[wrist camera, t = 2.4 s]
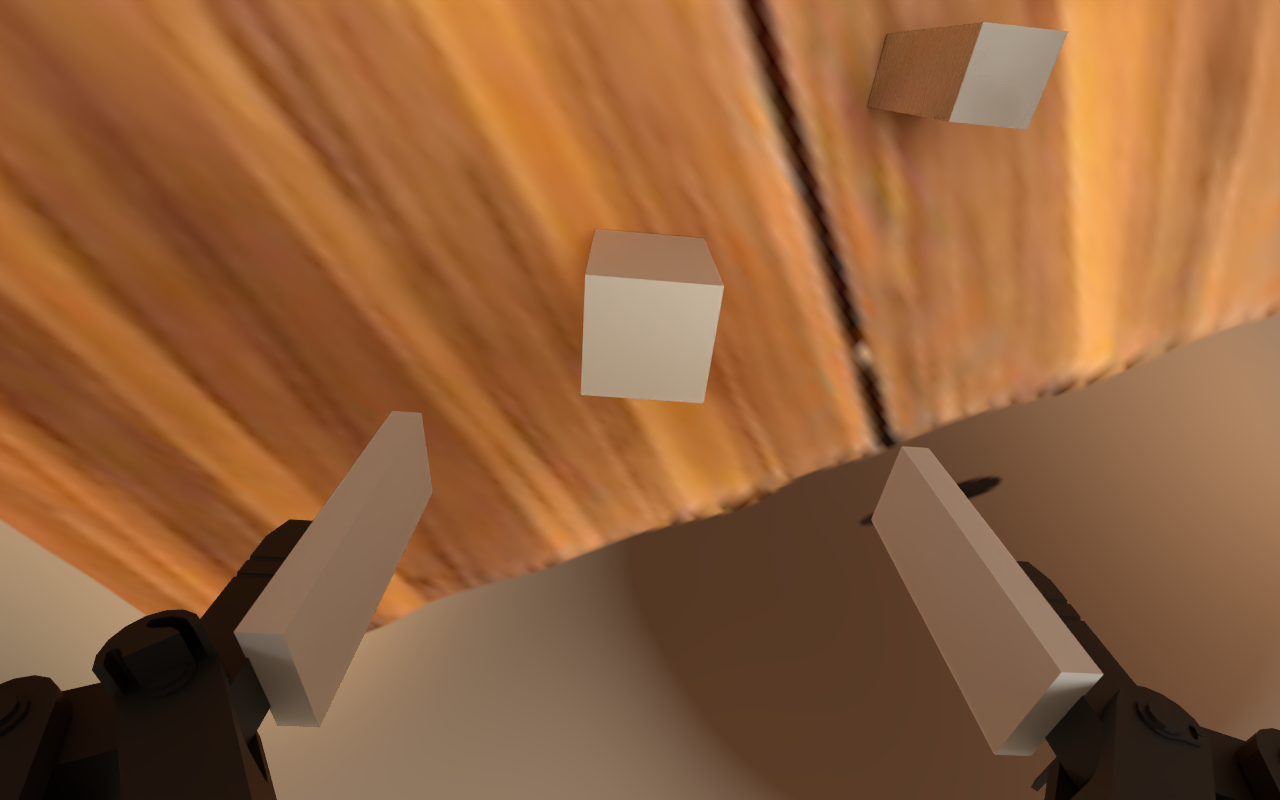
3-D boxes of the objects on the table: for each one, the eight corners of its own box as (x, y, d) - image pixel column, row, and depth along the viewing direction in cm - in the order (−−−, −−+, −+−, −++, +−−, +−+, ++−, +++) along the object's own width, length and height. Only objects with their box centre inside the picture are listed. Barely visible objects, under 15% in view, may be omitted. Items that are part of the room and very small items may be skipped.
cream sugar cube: (590, 329, 28) (580, 394, 23) (595, 228, 26) (585, 274, 20) (689, 337, 29) (703, 403, 23) (704, 238, 26) (724, 286, 20)
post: (867, 106, 23) (948, 121, 17) (887, 33, 22) (983, 22, 16) (926, 112, 23) (1027, 129, 17) (949, 40, 22) (1068, 31, 16)
